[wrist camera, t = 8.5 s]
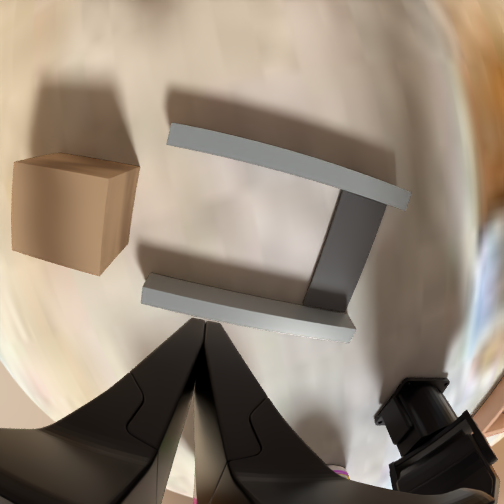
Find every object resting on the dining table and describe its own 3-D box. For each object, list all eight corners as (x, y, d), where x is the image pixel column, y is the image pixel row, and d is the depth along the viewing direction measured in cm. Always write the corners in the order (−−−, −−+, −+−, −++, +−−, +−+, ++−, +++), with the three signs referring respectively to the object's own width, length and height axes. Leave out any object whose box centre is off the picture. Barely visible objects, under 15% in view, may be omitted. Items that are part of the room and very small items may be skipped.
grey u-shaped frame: (396, 186, 19) (411, 192, 17) (341, 327, 22) (349, 343, 20) (178, 123, 17) (171, 122, 15) (148, 288, 20) (140, 303, 18)
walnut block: (140, 166, 18) (109, 179, 13) (128, 242, 19) (99, 276, 15) (59, 152, 17) (14, 161, 12) (52, 224, 18) (12, 250, 14)
